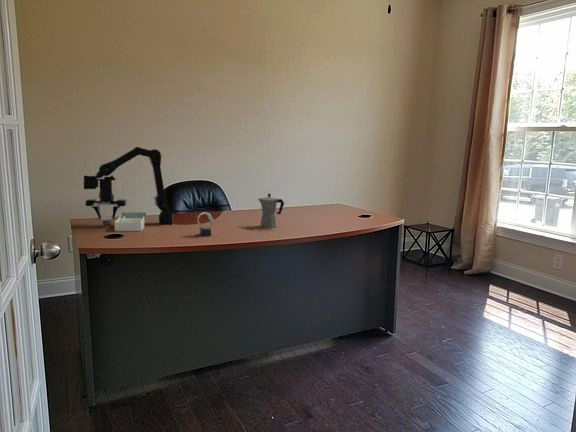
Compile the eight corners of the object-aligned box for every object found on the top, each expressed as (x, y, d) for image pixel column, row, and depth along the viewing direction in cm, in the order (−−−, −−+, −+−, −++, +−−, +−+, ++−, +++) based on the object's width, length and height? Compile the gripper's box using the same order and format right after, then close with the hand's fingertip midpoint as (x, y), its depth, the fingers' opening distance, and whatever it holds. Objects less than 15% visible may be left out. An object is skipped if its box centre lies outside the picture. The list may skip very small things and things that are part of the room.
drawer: (146, 219, 246) (146, 212, 245) (143, 224, 231) (143, 217, 230) (122, 219, 244) (122, 212, 243) (117, 225, 228) (117, 217, 228)
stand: (111, 225, 233) (111, 218, 232) (110, 227, 229) (110, 220, 229) (103, 225, 232) (103, 218, 232) (102, 227, 228) (101, 220, 228)
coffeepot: (253, 226, 244) (254, 193, 241) (261, 223, 252) (262, 191, 249) (279, 229, 238) (280, 195, 235) (286, 226, 246) (287, 194, 243)
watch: (214, 235, 217) (215, 213, 216) (198, 236, 215) (198, 213, 213) (212, 233, 223) (212, 211, 221) (196, 234, 220) (196, 211, 218)
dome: (114, 218, 234) (113, 214, 233) (112, 220, 228) (111, 216, 228) (101, 218, 232) (101, 214, 232) (99, 220, 227) (99, 216, 226)
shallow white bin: (144, 225, 237) (144, 216, 237) (141, 231, 222) (141, 222, 221) (119, 225, 235) (119, 216, 234) (114, 231, 219) (114, 222, 219)
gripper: (127, 187, 237) (128, 216, 240) (89, 187, 233) (90, 216, 236) (124, 189, 226) (125, 220, 229) (84, 189, 223) (85, 220, 225)
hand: (106, 219), depth 230 cm, fingers closed on dome, 6 cm apart
